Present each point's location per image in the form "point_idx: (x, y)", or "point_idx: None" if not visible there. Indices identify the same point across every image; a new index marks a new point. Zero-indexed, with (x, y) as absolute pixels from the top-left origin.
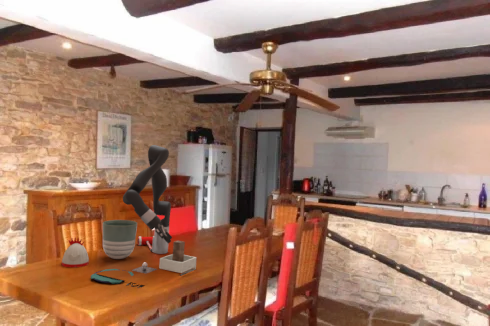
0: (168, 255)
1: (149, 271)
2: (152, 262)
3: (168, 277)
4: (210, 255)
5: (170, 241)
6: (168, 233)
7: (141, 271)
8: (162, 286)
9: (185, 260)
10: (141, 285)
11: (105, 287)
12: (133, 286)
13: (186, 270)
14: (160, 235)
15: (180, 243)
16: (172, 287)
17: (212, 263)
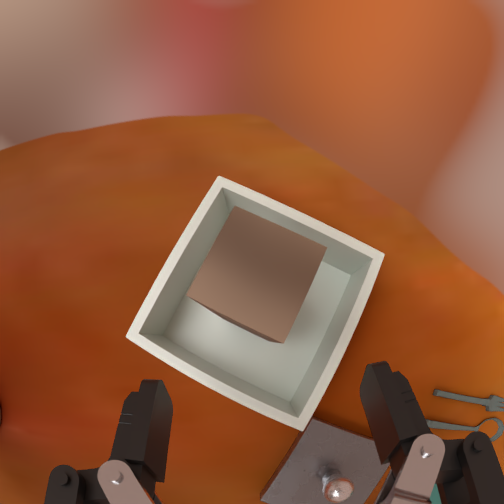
0: (202, 382)
1: (364, 446)
2: None
3: (394, 334)
4: (12, 179)
5: (382, 367)
6: (144, 450)
7: (366, 479)
8: (493, 327)
9: (191, 259)
10: (497, 405)
11: None
12: (502, 427)
13: None
14: (466, 495)
15: (324, 247)
16: (493, 286)
17: (116, 149)
